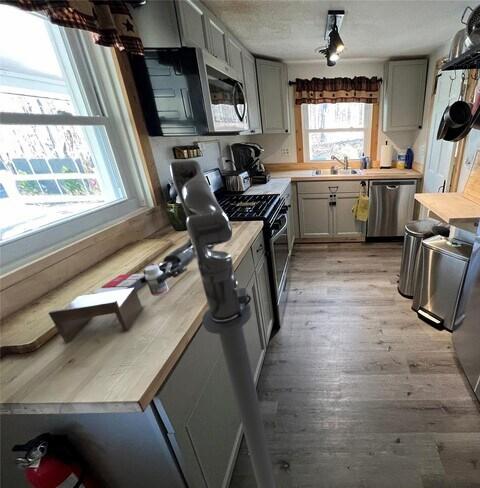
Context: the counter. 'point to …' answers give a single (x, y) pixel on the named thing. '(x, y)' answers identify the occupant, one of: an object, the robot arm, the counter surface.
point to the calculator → (122, 283)
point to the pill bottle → (155, 280)
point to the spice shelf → (97, 310)
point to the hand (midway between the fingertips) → (150, 281)
